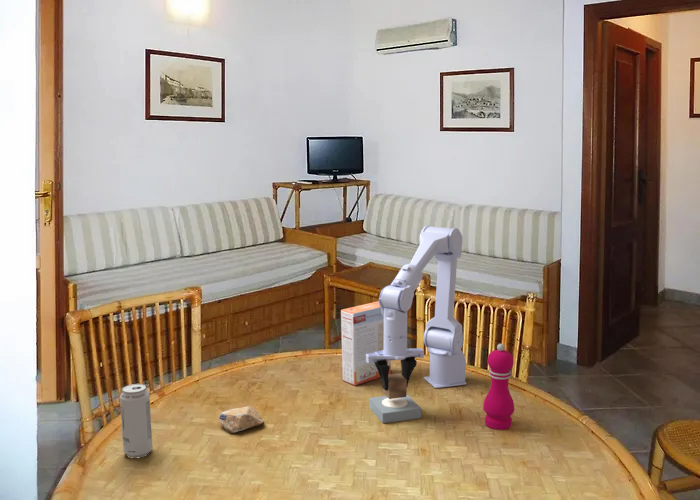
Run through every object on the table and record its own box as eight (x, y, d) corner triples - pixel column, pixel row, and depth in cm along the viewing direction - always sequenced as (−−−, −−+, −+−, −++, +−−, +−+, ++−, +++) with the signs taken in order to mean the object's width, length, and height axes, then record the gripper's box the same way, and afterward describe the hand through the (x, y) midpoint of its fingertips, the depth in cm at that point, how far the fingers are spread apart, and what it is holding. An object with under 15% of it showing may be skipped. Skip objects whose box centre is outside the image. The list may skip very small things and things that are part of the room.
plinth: (405, 402, 174) (405, 392, 174) (421, 417, 165) (421, 407, 164) (369, 407, 171) (369, 397, 171) (382, 423, 162) (382, 412, 161)
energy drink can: (123, 449, 149) (118, 385, 146) (151, 445, 151) (147, 381, 148) (124, 461, 143) (119, 395, 141) (153, 456, 145) (149, 391, 143)
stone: (215, 425, 161) (214, 407, 160) (254, 415, 167) (254, 397, 167) (231, 438, 155) (230, 419, 154) (271, 426, 161) (270, 408, 160)
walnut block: (399, 390, 170) (399, 373, 169) (406, 396, 166) (406, 379, 165) (382, 392, 169) (383, 375, 168) (389, 399, 164) (389, 381, 164)
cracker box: (377, 369, 198) (377, 300, 195) (391, 374, 194) (392, 304, 190) (340, 380, 190) (340, 308, 186) (354, 386, 185) (354, 312, 181)
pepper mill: (514, 432, 157) (517, 349, 153) (482, 429, 158) (485, 347, 155) (513, 419, 164) (516, 340, 160) (482, 416, 165) (485, 338, 162)
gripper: (372, 342, 158) (372, 397, 161) (429, 336, 163) (428, 390, 165) (363, 334, 165) (363, 386, 167) (417, 328, 169) (417, 380, 172)
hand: (394, 387), depth 167 cm, fingers closed on walnut block, 4 cm apart
